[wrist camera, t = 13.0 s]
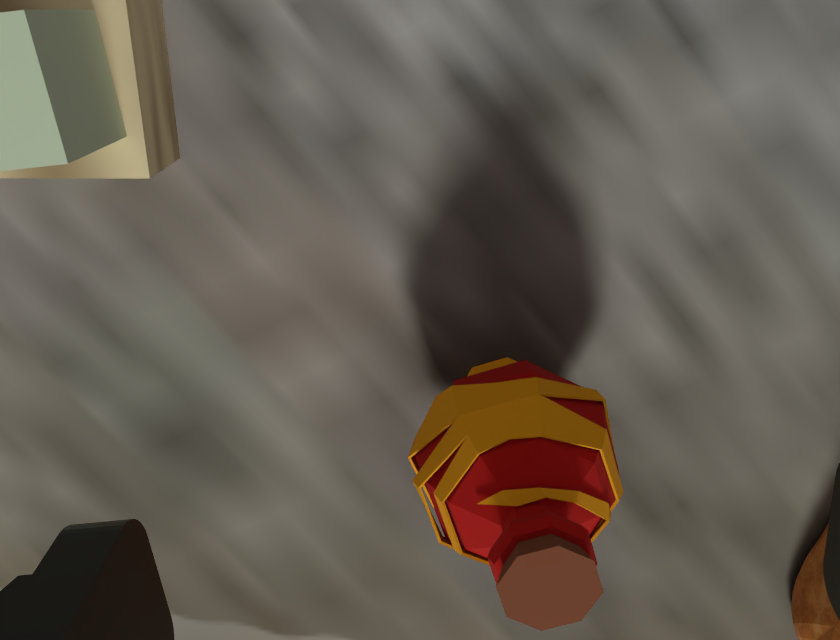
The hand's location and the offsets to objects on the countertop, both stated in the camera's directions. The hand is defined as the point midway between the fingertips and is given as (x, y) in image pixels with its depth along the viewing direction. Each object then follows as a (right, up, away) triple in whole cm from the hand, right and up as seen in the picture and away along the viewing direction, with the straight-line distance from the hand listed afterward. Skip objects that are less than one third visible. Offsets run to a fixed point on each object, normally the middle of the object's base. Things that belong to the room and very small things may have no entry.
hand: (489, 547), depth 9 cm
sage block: (-16, +12, +22) cm, 30 cm away
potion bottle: (+4, -2, +34) cm, 34 cm away
